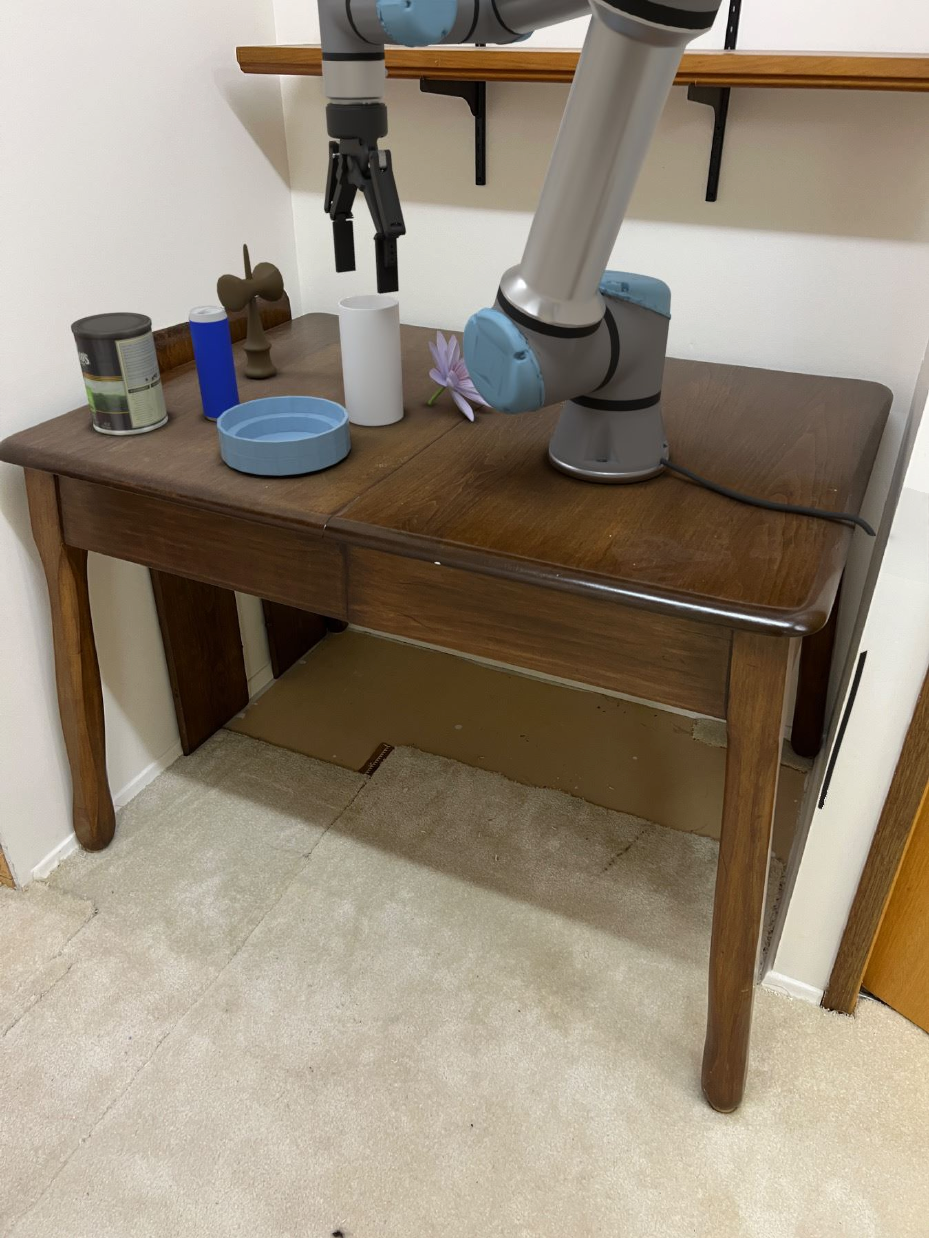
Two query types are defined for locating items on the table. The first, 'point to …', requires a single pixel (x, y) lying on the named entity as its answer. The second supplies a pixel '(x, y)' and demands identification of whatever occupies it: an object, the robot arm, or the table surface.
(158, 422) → the coffee can
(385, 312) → the cup
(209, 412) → the beverage can
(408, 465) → the table surface
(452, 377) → the water lily
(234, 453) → the bowl
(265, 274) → the kendama
